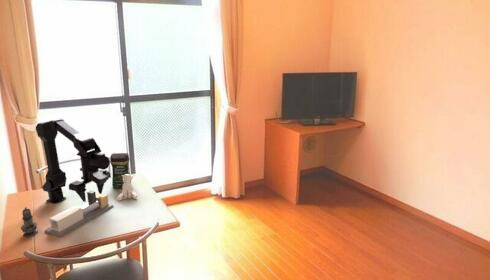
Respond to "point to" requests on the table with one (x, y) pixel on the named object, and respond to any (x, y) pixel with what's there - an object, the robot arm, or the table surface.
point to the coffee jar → (119, 168)
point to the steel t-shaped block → (90, 203)
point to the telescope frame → (75, 217)
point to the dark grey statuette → (28, 224)
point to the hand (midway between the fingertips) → (92, 197)
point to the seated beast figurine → (127, 188)
